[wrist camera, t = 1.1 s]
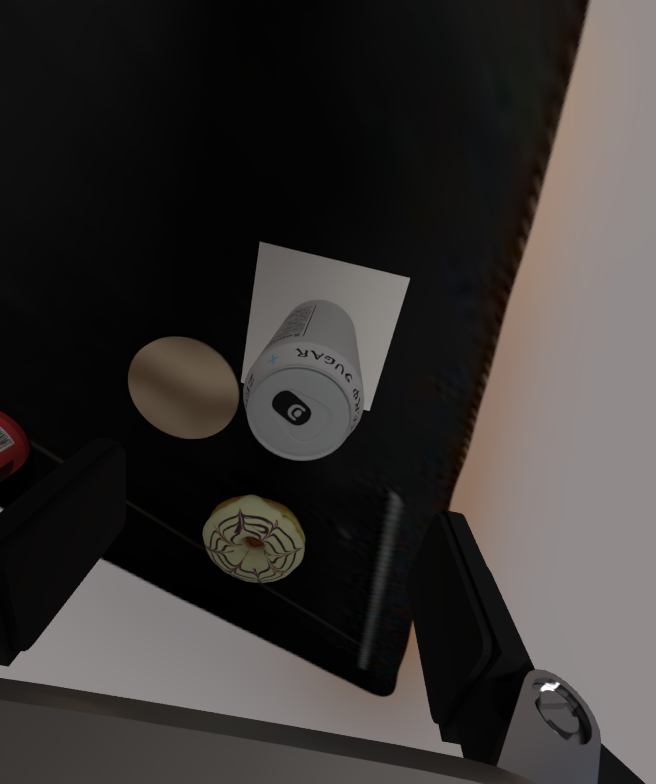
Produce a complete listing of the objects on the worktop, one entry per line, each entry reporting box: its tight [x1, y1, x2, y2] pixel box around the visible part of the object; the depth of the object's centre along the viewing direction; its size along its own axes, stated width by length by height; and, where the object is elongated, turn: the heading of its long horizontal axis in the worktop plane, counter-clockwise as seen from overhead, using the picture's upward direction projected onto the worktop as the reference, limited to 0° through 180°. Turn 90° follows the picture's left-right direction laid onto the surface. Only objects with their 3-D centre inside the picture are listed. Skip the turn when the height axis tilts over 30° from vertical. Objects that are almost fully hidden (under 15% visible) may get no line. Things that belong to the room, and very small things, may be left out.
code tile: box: [241, 242, 410, 411], centre depth 30 cm, size 12×12×1 cm
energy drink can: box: [243, 300, 364, 461], centre depth 23 cm, size 6×6×15 cm
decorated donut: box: [203, 495, 305, 583], centre depth 37 cm, size 10×11×4 cm
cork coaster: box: [128, 336, 240, 439], centre depth 32 cm, size 10×10×1 cm
